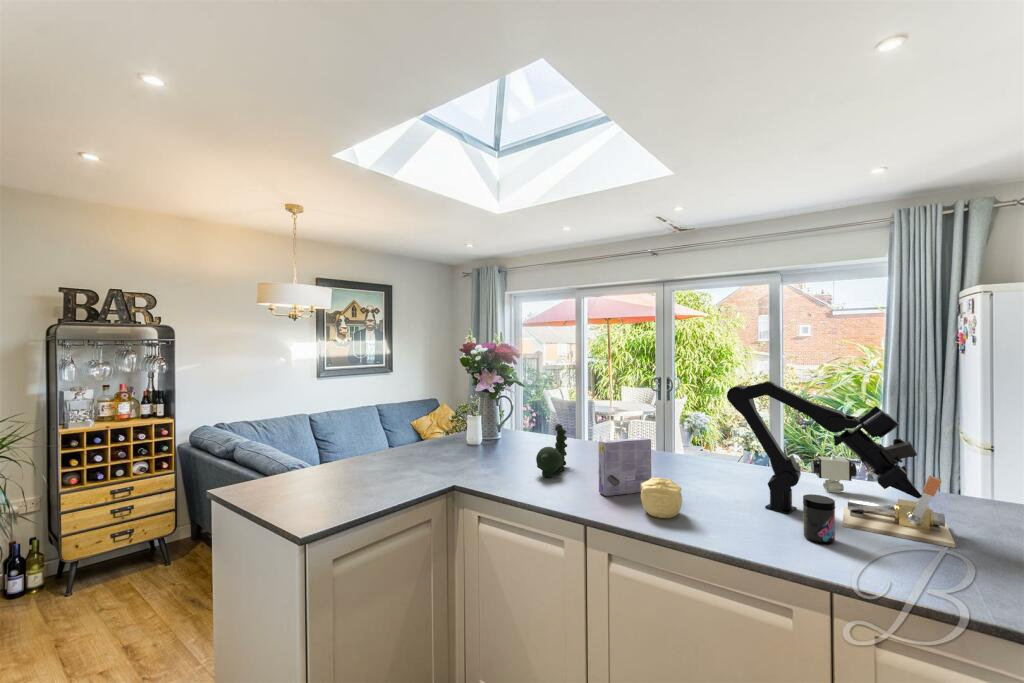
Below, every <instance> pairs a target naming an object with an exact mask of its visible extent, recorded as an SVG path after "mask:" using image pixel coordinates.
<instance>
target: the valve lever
mask: <svg viewBox="0 0 1024 683" xmlns="http://www.w3.org/2000/svg"><path fill="white" fill-rule="evenodd" d="M941 484H942V480H941V479H940V478H937V477H935V476H933V475H929V476H928V478H927V479H926V481H925V484H924V486H923V488H922V489H921V491H922V493H920V494H921V497H920V498H918V499H917V501H916V502H917V504H916V506H915V508H914V510H913V512H912V514H909V515H908V516H907V519H908V522H909V523H910V524H911V525H912V526H920V525H921V524H922V517H923V515H924V513H925V511H926V509H927V507H929V504H930V502H931V500H932V498H933V497H935V495H936V493H937V492H938V490H939V488H940V485H941Z"/></svg>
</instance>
